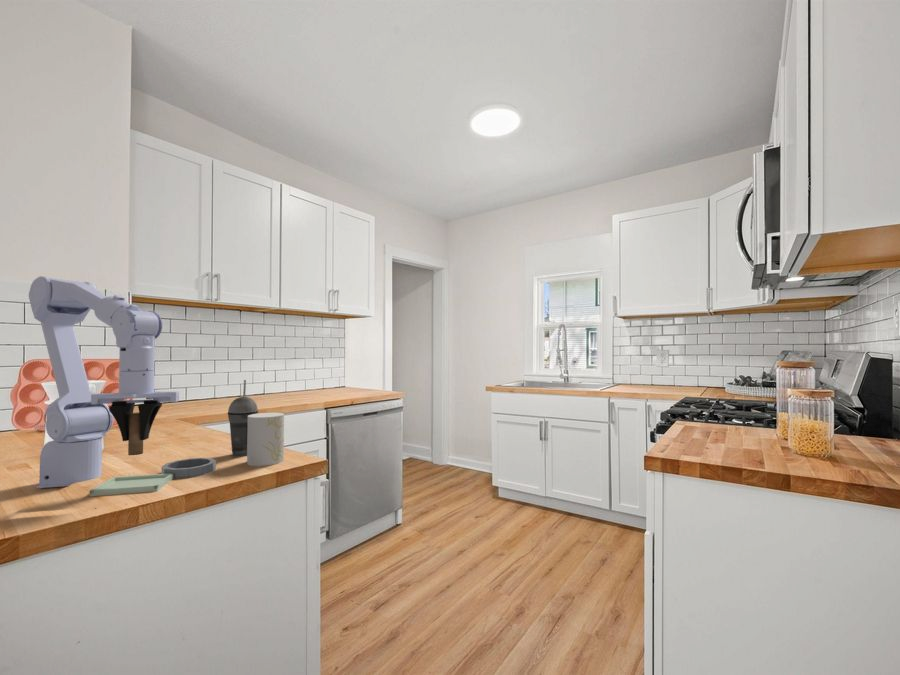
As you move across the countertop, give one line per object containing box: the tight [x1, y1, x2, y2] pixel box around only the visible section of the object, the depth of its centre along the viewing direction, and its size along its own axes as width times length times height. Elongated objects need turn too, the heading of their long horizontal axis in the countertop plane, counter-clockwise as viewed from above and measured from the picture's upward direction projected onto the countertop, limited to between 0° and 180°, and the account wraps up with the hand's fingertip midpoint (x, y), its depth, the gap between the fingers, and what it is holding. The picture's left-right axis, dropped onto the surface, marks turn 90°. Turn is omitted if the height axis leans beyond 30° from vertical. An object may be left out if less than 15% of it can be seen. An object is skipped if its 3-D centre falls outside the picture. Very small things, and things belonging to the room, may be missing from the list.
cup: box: [246, 412, 285, 467], centre depth 105 cm, size 8×8×12 cm
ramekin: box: [160, 457, 217, 480], centre depth 96 cm, size 10×10×3 cm
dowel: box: [127, 411, 144, 456], centre depth 86 cm, size 2×2×8 cm
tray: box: [89, 473, 174, 497], centre depth 86 cm, size 11×9×2 cm
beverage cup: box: [227, 379, 259, 457], centre depth 113 cm, size 7×7×20 cm
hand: (135, 439), depth 86 cm, fingers closed on dowel, 2 cm apart
